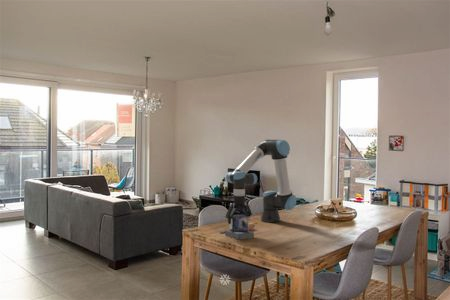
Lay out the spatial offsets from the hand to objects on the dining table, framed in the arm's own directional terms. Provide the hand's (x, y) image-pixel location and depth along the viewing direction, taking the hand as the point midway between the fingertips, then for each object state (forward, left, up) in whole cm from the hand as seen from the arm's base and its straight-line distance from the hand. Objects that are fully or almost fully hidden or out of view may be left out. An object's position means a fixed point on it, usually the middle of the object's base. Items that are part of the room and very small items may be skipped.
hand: (238, 227), depth 255 cm
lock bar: (-14, -10, -6) cm, 18 cm away
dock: (0, -2, -6) cm, 6 cm away
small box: (0, 0, -3) cm, 3 cm away
